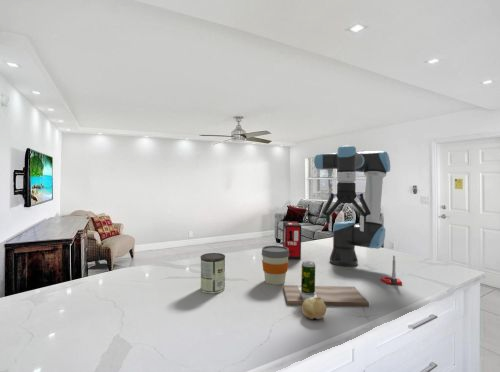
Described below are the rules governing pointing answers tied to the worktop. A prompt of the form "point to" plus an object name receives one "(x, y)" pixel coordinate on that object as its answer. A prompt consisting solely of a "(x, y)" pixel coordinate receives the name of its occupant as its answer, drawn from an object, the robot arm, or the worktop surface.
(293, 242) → the cleaning product box
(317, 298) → the onion
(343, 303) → the walnut board
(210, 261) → the coffee can
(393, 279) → the tow hook
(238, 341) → the worktop surface
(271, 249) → the reusable coffee cup
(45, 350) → the worktop surface
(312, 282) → the beer can
